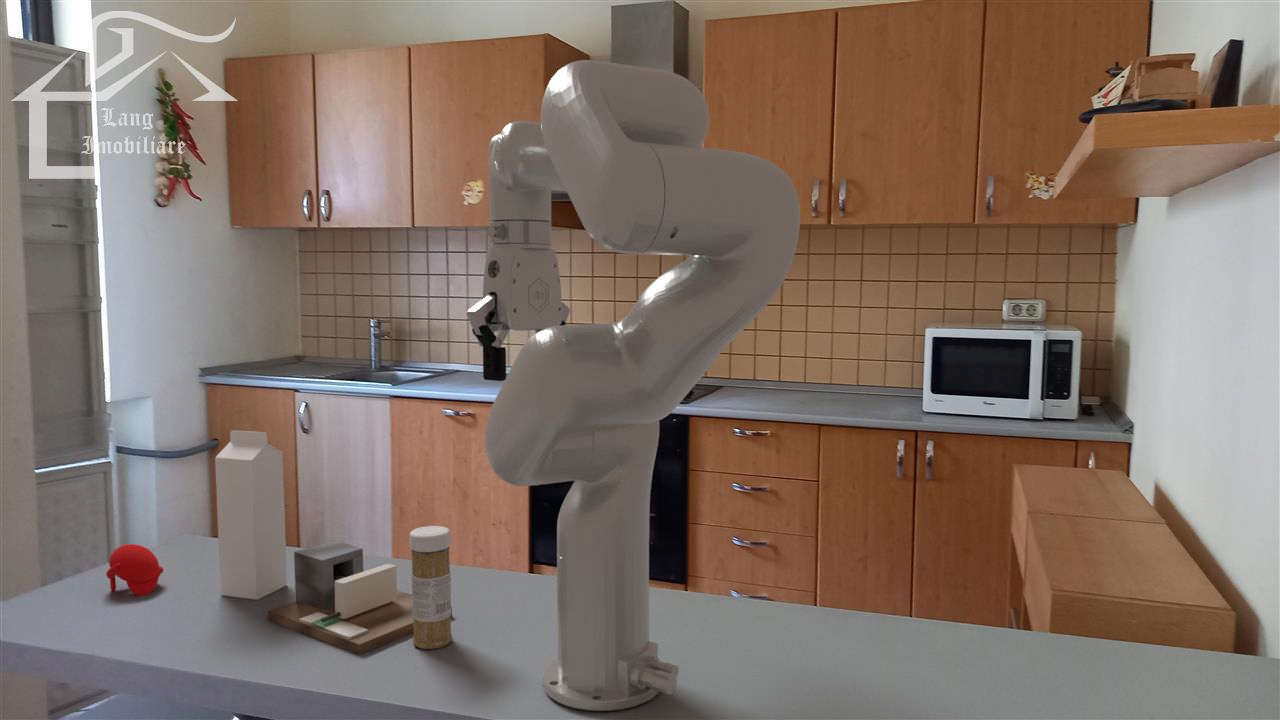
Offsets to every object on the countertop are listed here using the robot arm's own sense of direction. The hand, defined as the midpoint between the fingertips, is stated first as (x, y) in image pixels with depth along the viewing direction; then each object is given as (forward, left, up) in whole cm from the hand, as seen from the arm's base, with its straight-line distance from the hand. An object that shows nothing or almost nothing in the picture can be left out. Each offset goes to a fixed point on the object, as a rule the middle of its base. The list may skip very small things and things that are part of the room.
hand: (522, 376), depth 108 cm
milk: (+36, +15, -31) cm, 50 cm away
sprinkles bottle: (+3, +13, -31) cm, 33 cm away
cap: (+50, +24, -31) cm, 63 cm away
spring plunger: (+17, +14, -29) cm, 36 cm away
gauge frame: (+16, +13, -30) cm, 37 cm away
